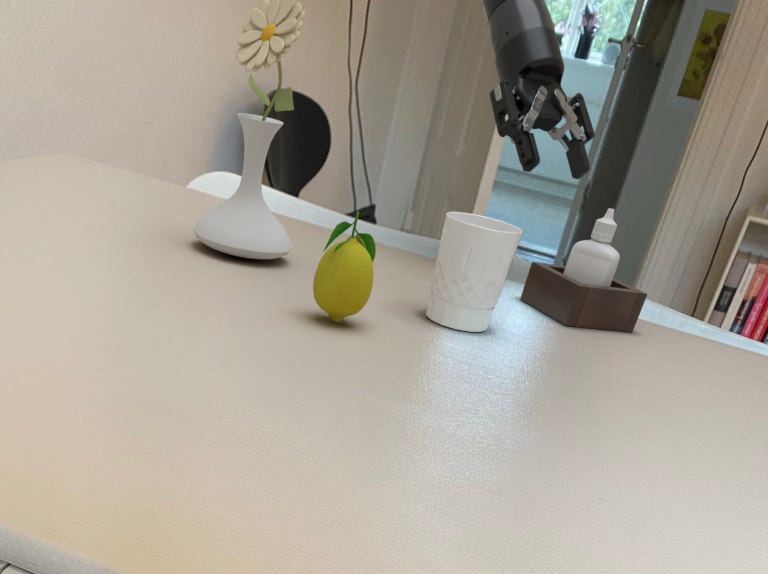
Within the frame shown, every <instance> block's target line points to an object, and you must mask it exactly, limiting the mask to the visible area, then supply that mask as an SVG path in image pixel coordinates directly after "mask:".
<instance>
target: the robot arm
mask: <svg viewBox="0 0 768 574" xmlns="http://www.w3.org/2000/svg"><path fill="white" fill-rule="evenodd" d="M480 1H481V7H482V11H483V14H484V18H485V21H486V26H487V29H488V30H487V31H488V37H489V45H490V49H491V54H492V57H493V61H494V65H495V69H496V72H497V76H498V79H499V82H498V84H496V85H495V87H494V88H493V89H492V90H491V91H490V92H489V97H490V98H489V99H490V102H491V103H490V104H491V107H492V112H493V116H494V121H495V126H496V131H497V134H498V136H499V137H501V138H506V137H508V138H509V140H510V143H512V144H513V145H515V150H516V154H517V157H518V161H519V164H520V166H521V168H522V171H523V172H526V173H530V172H532V171H534V169H536V167H538V166H539V164H540V163H541V156H540V153H539V149H538V145H537V143H536V142H537V141H536V138H535V134H534V132H531V131H532V130H541V131H543V132H546V133H547V134H548V135H549V137H550V138H551V139H552V140H553V141H558V142H559V143H560V144H561V146H562V147H563V149H564V150H565V155H566V159H567V163H568V166H569V170H570V174H571V177H572V179H574V180H580V179H581V178H582V177H583V176H585V175H586V174H588V172H589V171H590V166H591V165H590V161H589V156H588V153H587V150H586V144H588V143H589V142H590V141H591V140H594V138H595V137H596V134H595V133H596V132H595V130H594V127H593V124H592V121H591V117H590V113H589V110H588V106H587V105H586V101H585V98H584V96H583V94H582V93H580V92H577V93H576V94H575V95H574V96H572V97H571V96H567V94H566V92H565V90H564V89H563V87H562V81H563V76H564V73H565V62H564V59H563V55H562V52H561V47H560V44H559V41H558V36H557V33H556V30H555V25H554V22H553V17H552V15H551V12H550V10H549V8H548V6H547V4H546V1H545V0H480ZM506 116H507V118H508V119H506ZM564 119H565V121H566V122H565V123H564V124H562V125H561V126H560V127H557V125H559V123H561V122H562V120H564ZM582 128H583V129H582ZM567 131H568V132H569V135H570V138H571V139H570V138H569V136H567V134H566V132H567Z"/></svg>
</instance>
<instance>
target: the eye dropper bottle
mask: <svg viewBox="0 0 768 574" xmlns="http://www.w3.org/2000/svg"><path fill="white" fill-rule="evenodd" d="M614 216H615V209H614V208H610V207H609V208H607V210H606V212H605V214H604V216H603V217H601V218H597V219H596V220H595V223H594V227H593V229H592V231H591V234H590V239H584V240H579V241H577V242H575V243H574V244H573V246H572V248H571V250H570V253H569V255H568V258H567V261H566V264H565V266H566V267H565V270H564V272H563V274H564V275H566V276H568V277H570V278H572V279H574V280H576V281H578V282H580V283H582V284H590V285H598V286H607V287H610V285H611V283H612V280H613V278H615V274H616V272H617V269H618V265H619V264H620V259H621V258H620V257H621V256H620V253H619V252H618V251H617V250H616V248H614V247H613V246H612V245H611V243H612V241H613V239H614V234H615V233H616V230H617V228H618V223H616V222H615V221H614Z"/></svg>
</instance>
